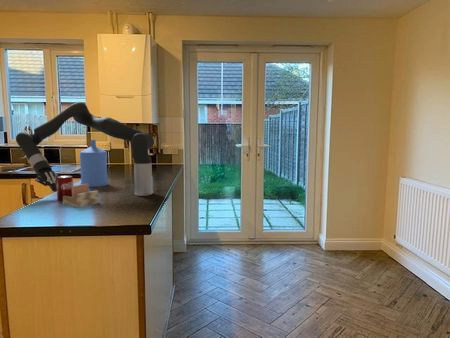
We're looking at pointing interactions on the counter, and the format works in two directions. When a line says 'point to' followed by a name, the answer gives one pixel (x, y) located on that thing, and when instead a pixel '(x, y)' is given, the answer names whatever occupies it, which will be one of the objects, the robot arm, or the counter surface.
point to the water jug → (93, 166)
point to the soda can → (64, 187)
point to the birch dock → (82, 199)
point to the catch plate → (79, 189)
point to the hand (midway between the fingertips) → (56, 190)
